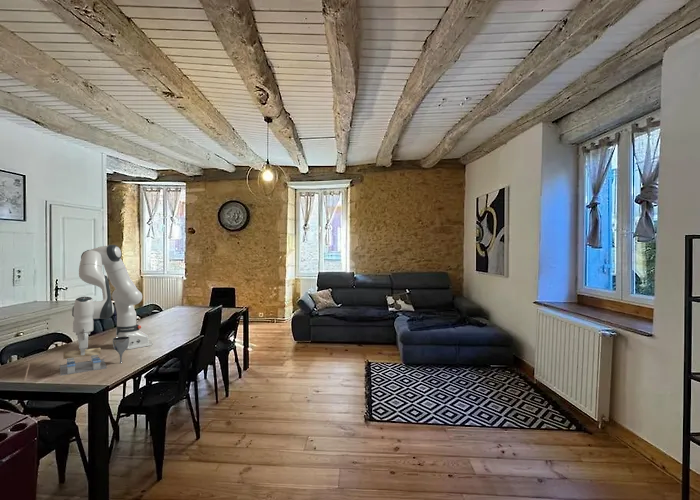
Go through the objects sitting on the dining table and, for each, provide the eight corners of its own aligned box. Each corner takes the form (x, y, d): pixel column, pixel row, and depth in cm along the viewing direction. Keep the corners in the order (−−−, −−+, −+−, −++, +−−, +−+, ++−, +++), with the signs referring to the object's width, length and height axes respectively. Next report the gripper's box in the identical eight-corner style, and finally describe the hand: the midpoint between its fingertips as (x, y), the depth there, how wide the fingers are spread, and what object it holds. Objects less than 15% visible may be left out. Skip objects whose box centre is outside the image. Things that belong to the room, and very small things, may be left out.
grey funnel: (132, 363, 212) (132, 337, 212) (119, 367, 205) (119, 340, 205) (121, 361, 215) (122, 335, 215) (109, 365, 208) (109, 339, 208)
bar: (100, 353, 204) (100, 347, 204) (100, 354, 202) (100, 348, 202) (63, 357, 194) (63, 351, 194) (63, 359, 192) (63, 353, 192)
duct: (103, 360, 217) (103, 351, 217) (107, 370, 201) (107, 360, 201) (59, 366, 205) (60, 357, 205) (60, 377, 188) (60, 367, 188)
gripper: (91, 330, 192) (90, 357, 192) (89, 324, 208) (88, 349, 208) (76, 332, 188) (75, 359, 188) (75, 325, 204) (74, 350, 204)
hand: (82, 354), depth 198 cm, fingers closed on bar, 3 cm apart
